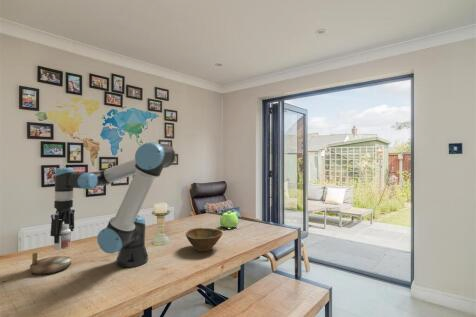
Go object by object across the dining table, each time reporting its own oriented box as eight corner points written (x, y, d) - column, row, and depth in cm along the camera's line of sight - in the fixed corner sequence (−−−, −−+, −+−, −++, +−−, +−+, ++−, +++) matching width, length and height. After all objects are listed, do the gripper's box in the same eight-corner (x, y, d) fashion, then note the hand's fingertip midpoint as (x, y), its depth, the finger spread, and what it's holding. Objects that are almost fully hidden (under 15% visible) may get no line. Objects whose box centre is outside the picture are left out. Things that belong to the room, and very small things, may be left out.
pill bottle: (53, 247, 129) (53, 224, 129) (67, 244, 134) (68, 222, 134) (57, 250, 125) (58, 227, 125) (72, 247, 130) (72, 224, 130)
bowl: (230, 249, 159) (231, 232, 159) (200, 259, 143) (201, 240, 142) (206, 240, 174) (207, 225, 174) (177, 248, 157) (177, 232, 157)
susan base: (71, 267, 129) (71, 265, 129) (42, 276, 119) (42, 274, 119) (58, 261, 135) (58, 260, 135) (30, 269, 125) (30, 268, 125)
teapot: (226, 231, 196) (227, 214, 196) (213, 228, 204) (214, 211, 204) (243, 226, 211) (243, 210, 211) (230, 223, 220) (231, 208, 220)
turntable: (73, 258, 137) (74, 244, 137) (67, 270, 123) (67, 255, 122) (36, 262, 131) (36, 248, 131) (24, 275, 116) (24, 260, 116)
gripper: (69, 196, 139) (68, 240, 139) (41, 202, 120) (39, 254, 120) (83, 196, 139) (82, 241, 139) (57, 203, 119) (56, 254, 120)
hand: (62, 247), depth 129 cm, fingers closed on pill bottle, 6 cm apart
